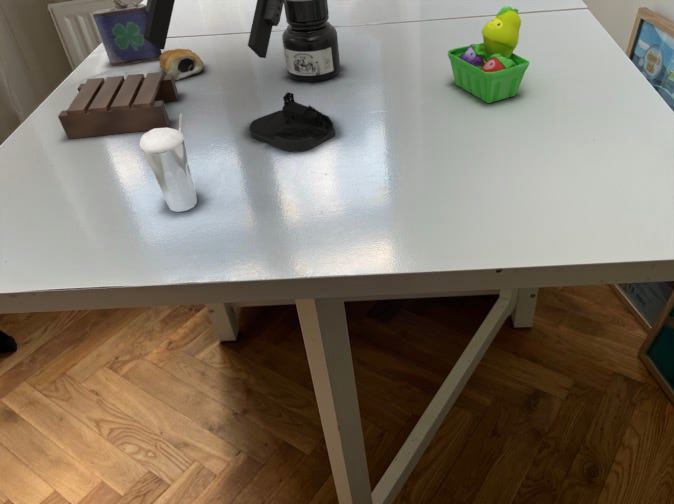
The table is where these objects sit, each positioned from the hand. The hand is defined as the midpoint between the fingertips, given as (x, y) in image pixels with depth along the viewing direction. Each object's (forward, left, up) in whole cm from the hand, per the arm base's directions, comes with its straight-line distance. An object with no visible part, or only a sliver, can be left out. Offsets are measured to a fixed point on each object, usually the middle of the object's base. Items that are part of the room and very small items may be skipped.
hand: (203, 48), depth 62 cm
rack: (-17, +18, -14) cm, 28 cm away
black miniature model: (+8, +7, -14) cm, 18 cm away
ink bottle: (+12, +28, -14) cm, 34 cm away
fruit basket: (+38, +14, -14) cm, 43 cm away
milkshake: (-5, -9, -14) cm, 18 cm away
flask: (-20, +43, -14) cm, 50 cm away
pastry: (-11, +35, -14) cm, 39 cm away
